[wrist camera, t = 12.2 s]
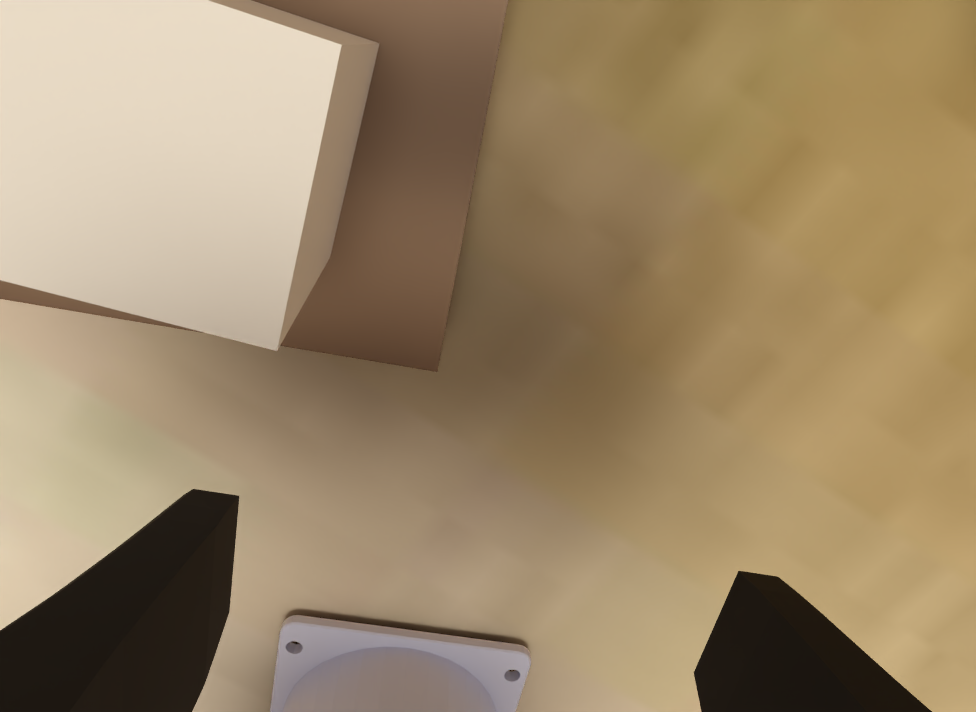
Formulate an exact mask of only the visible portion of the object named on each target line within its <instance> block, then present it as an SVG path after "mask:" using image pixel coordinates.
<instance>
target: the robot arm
mask: <svg viewBox="0 0 976 712" xmlns="http://www.w3.org/2000/svg"><path fill="white" fill-rule="evenodd" d="M238 504H239V496H236V495H229V494H223V493H216V492H209V491H203V490H196V489H193V490H191V491H189V492H188V493H186V494H185V495H183V496H182V497H181V498H179V499H178V500H177V501H176V502H174V503H173V504H172V505H171V506H169V507H168V508H167V509H166V510H164V511H163V512H162V513H161V514H159V515H158V516H157V517H156V518H154V519H153V520H152V521H151V522H149V523H148V524H147V525H146V526H144V527H143V528H142V529H141V530H139V531H138V532H137V533H135V534H134V535H133V536H132V537H130V538H129V539H128V540H126V541H125V542H124V543H123V544H121V545H120V546H119V547H117V548H116V549H115V550H114V551H112V552H111V553H110V554H108V555H107V556H106V557H104V558H103V559H101V560H100V561H99V562H97V563H96V564H95V565H93V566H92V567H91V568H89V569H88V570H87V571H85V572H84V573H83V574H81V575H80V576H79V577H77V578H76V579H74V580H73V581H72V582H70V583H69V584H68V585H66V586H65V587H64V588H62V589H61V590H59V591H58V592H57V593H55V594H54V595H52V596H51V597H49V598H48V599H46V600H45V601H43V602H42V603H40V604H39V605H38V606H36V607H35V608H33V609H32V610H30V611H29V612H27V613H26V614H24V615H23V616H21V617H20V618H18V619H17V620H15V621H14V622H12V623H11V624H9V625H8V626H6V627H5V628H3V629H2V630H0V712H192V710H193V708H194V706H195V704H196V702H197V700H198V697H199V695H200V693H201V691H202V689H203V686H204V684H205V682H206V679H207V676H208V673H209V670H210V667H211V664H212V661H213V659H214V656H215V653H216V650H217V647H218V644H219V641H220V638H221V635H222V632H223V629H224V626H225V623H226V620H227V617H228V614H229V609H230V597H231V585H232V574H233V562H234V551H235V539H236V527H237V516H238ZM291 641H296V642H299V643H300V644H294V643H292V642H291ZM530 666H531V657H530V652H529V650H528V649H527V648H526V647H525V646H522V645H519V644H512V643H504V642H497V641H489V640H482V639H475V638H467V637H460V636H452V635H445V634H437V633H430V632H422V631H415V630H407V629H400V628H392V627H385V626H377V625H370V624H362V623H355V622H347V621H340V620H332V619H325V618H317V617H310V616H302V615H293V616H290V617H288V618H286V619H285V620H284V622H283V624H282V627H281V631H280V636H279V644H278V651H277V659H276V667H275V675H274V683H273V691H272V699H271V706H270V712H516V710H517V706H518V703H519V700H520V697H521V694H522V691H523V688H524V685H525V681H526V678H527V675H528V672H529V669H530ZM509 670H516V671H512V672H509ZM694 676H695V681H696V686H697V691H698V696H699V701H700V706H701V711H702V712H932V711H930V710H929V709H928V708H927V707H926V706H925V705H923V704H922V703H921V702H920V701H919V700H918V699H917V698H915V697H914V696H913V695H912V694H911V693H910V692H909V691H907V690H906V689H905V688H904V687H903V686H902V685H901V684H900V683H898V682H897V681H896V680H895V679H894V678H893V677H892V676H891V675H889V674H888V673H887V672H886V671H885V670H884V669H883V668H882V667H880V666H879V665H878V664H877V663H876V662H875V661H874V660H873V659H872V658H870V657H869V656H868V655H867V654H866V653H865V652H864V651H863V650H862V649H861V648H859V647H858V646H857V645H856V644H855V643H854V642H853V641H852V640H851V639H849V638H848V637H847V636H846V635H845V634H844V633H843V632H842V631H841V630H839V629H838V628H837V627H836V626H835V625H834V624H833V623H832V622H831V621H829V620H828V619H827V618H826V617H825V616H824V615H823V614H822V613H820V612H819V611H818V610H817V609H816V608H815V607H814V606H813V605H811V604H810V603H809V602H808V601H807V600H806V599H804V598H803V597H802V596H801V595H800V594H799V593H797V592H796V591H795V590H794V589H793V588H791V587H790V586H789V585H787V584H786V583H785V582H784V581H782V580H781V579H780V578H778V577H776V576H769V575H763V574H756V573H749V572H743V571H738V574H737V576H736V578H735V580H734V583H733V585H732V587H731V590H730V592H729V594H728V596H727V599H726V601H725V603H724V605H723V608H722V610H721V612H720V615H719V617H718V619H717V621H716V624H715V626H714V628H713V630H712V633H711V635H710V637H709V640H708V642H707V644H706V646H705V649H704V651H703V653H702V655H701V658H700V660H699V662H698V664H697V667H696V669H695V671H694Z"/></svg>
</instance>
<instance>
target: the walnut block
mask: <svg viewBox="0 0 976 712" xmlns="http://www.w3.org/2000/svg"><path fill="white" fill-rule="evenodd" d="M252 1H255V2H258V3H261V4H264V5H267V6H270V7H273V8H276V9H279V10H282V11H285V12H288V13H291V14H294V15H297V16H300V17H303V18H306V19H309V20H312V21H315V22H318V23H320V24H323V25H326V26H329V27H332V28H335V29H338V30H341V31H344V32H347V33H350V34H353V35H356V36H359V37H362V38H365V39H368V40H371V41H374V42H377V43H380V44H379V48H378V52H377V57H376V61H375V65H374V70H373V74H372V78H371V83H370V87H369V91H368V96H367V100H366V104H365V109H364V113H363V117H362V122H361V126H360V130H359V135H358V139H357V143H356V148H355V152H354V156H353V161H352V165H351V169H350V174H349V178H348V182H347V187H346V191H345V195H344V200H343V204H342V208H341V212H340V217H339V221H338V225H337V230H336V234H335V238H334V243H333V247H332V251H331V256H330V258H329V260H328V262H327V264H326V265H325V267H324V269H323V271H322V272H321V274H320V276H319V278H318V280H317V281H316V283H315V285H314V287H313V288H312V290H311V292H310V294H309V295H308V297H307V299H306V301H305V302H304V304H303V306H302V308H301V310H300V311H299V313H298V315H297V317H296V318H295V320H294V322H293V324H292V325H291V327H290V329H289V331H288V332H287V334H286V336H285V338H284V340H283V341H282V343H281V345H280V346H286V347H292V348H298V349H304V350H310V351H316V352H322V353H328V354H334V355H340V356H346V357H352V358H358V359H364V360H370V361H376V362H382V363H388V364H394V365H400V366H406V367H412V368H418V369H424V370H430V371H436V372H437V371H438V366H439V360H440V355H441V350H442V345H443V339H444V334H445V329H446V324H447V318H448V313H449V308H450V303H451V297H452V292H453V287H454V282H455V276H456V271H457V266H458V261H459V256H460V250H461V245H462V240H463V235H464V229H465V224H466V219H467V214H468V208H469V203H470V198H471V193H472V187H473V182H474V177H475V172H476V166H477V161H478V156H479V151H480V146H481V140H482V135H483V130H484V125H485V119H486V114H487V109H488V104H489V98H490V93H491V88H492V83H493V77H494V72H495V67H496V62H497V56H498V51H499V46H500V41H501V35H502V30H503V25H504V20H505V15H506V9H507V4H508V0H252ZM0 299H5V300H11V301H17V302H23V303H29V304H35V305H40V306H46V307H52V308H58V309H64V310H70V311H76V312H82V313H88V314H94V315H100V316H106V317H112V318H118V319H124V320H130V321H136V322H142V323H148V324H154V325H160V326H166V327H172V328H178V329H184V330H190V331H196V330H192V329H189V328H185V327H181V326H177V325H173V324H169V323H165V322H161V321H157V320H153V319H150V318H146V317H142V316H138V315H134V314H130V313H126V312H122V311H118V310H114V309H111V308H107V307H103V306H99V305H95V304H91V303H87V302H83V301H79V300H76V299H72V298H68V297H64V296H60V295H56V294H52V293H48V292H44V291H40V290H37V289H33V288H29V287H25V286H21V285H17V284H13V283H9V282H5V281H1V280H0ZM196 332H200V331H196ZM202 333H204V332H202Z"/></svg>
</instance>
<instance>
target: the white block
mask: <svg viewBox="0 0 976 712" xmlns="http://www.w3.org/2000/svg"><path fill="white" fill-rule="evenodd" d="M379 44H380V43H377V42H374V41H371V40H368V39H365V38H362V37H359V36H356V35H353V34H350V33H347V32H344V31H341V30H338V29H335V28H332V27H329V26H326V25H323V24H320V23H318V22H315V21H312V20H309V19H306V18H303V17H300V16H297V15H294V14H291V13H288V12H285V11H282V10H279V9H276V8H273V7H270V6H267V5H264V4H261V3H258V2H255V1H252V0H0V280H1V281H5V282H9V283H13V284H17V285H21V286H25V287H29V288H33V289H37V290H40V291H44V292H48V293H52V294H56V295H60V296H64V297H68V298H72V299H76V300H79V301H83V302H87V303H91V304H95V305H99V306H103V307H107V308H111V309H114V310H118V311H122V312H126V313H130V314H134V315H138V316H142V317H146V318H150V319H153V320H157V321H161V322H165V323H169V324H173V325H177V326H181V327H185V328H189V329H192V330H196V331H200V332H204V333H208V334H212V335H216V336H220V337H224V338H228V339H231V340H235V341H239V342H243V343H247V344H251V345H255V346H259V347H263V348H267V349H270V350H274V351H277V350H278V348H279V347H280V345H281V343H282V341H283V340H284V338H285V336H286V334H287V332H288V331H289V329H290V327H291V325H292V324H293V322H294V320H295V318H296V317H297V315H298V313H299V311H300V310H301V308H302V306H303V304H304V302H305V301H306V299H307V297H308V295H309V294H310V292H311V290H312V288H313V287H314V285H315V283H316V281H317V280H318V278H319V276H320V274H321V272H322V271H323V269H324V267H325V265H326V264H327V262H328V260H329V258H330V256H331V251H332V247H333V243H334V238H335V234H336V230H337V225H338V221H339V217H340V212H341V208H342V204H343V200H344V195H345V191H346V187H347V182H348V178H349V174H350V169H351V165H352V161H353V156H354V152H355V148H356V143H357V139H358V135H359V130H360V126H361V122H362V117H363V113H364V109H365V104H366V100H367V96H368V91H369V87H370V83H371V78H372V74H373V70H374V65H375V61H376V57H377V52H378V48H379Z"/></svg>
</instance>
